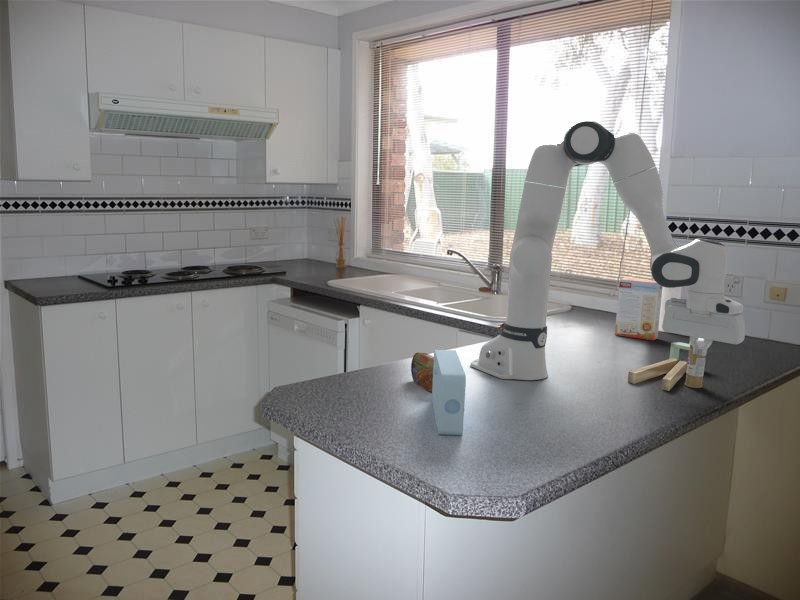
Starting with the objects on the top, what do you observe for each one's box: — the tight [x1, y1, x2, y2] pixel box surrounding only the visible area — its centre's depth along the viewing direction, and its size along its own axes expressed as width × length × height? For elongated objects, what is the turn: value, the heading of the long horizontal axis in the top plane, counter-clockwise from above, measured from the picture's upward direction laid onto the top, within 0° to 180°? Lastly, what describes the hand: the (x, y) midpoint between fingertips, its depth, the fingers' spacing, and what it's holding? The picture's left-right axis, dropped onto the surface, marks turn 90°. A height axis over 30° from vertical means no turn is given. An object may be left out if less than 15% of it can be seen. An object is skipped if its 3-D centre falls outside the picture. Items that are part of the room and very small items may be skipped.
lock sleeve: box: [668, 341, 690, 359], centre depth 208 cm, size 8×4×7 cm, turn 43°
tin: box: [410, 351, 434, 393], centre depth 178 cm, size 15×3×8 cm, turn 23°
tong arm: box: [660, 360, 688, 392], centre depth 194 cm, size 2×24×3 cm, turn 148°
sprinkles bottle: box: [684, 338, 707, 389], centre depth 188 cm, size 5×5×14 cm
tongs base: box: [627, 358, 684, 385], centre depth 198 cm, size 3×27×3 cm, turn 133°
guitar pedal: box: [431, 349, 467, 436], centre depth 155 cm, size 23×6×13 cm, turn 1°
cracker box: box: [614, 277, 663, 341], centre depth 248 cm, size 14×6×21 cm, turn 58°
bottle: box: [658, 287, 682, 334], centre depth 260 cm, size 8×8×30 cm
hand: (699, 354), depth 179 cm, fingers closed
